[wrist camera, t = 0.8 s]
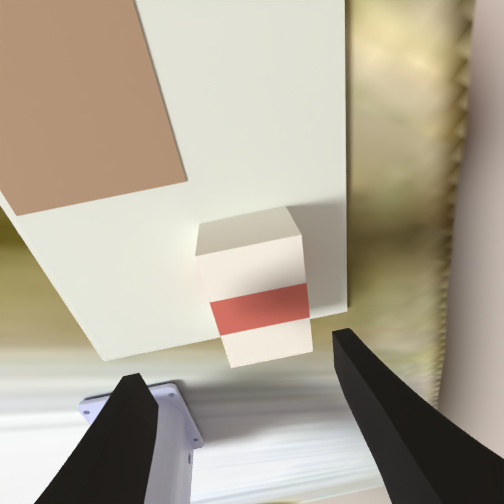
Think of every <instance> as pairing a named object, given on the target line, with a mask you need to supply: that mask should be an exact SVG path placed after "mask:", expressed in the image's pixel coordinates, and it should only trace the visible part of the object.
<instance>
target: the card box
mask: <svg viewBox="0 0 504 504" xmlns="http://www.w3.org/2000/svg"><path fill="white" fill-rule="evenodd" d="M195 258H196V261H197V265H198V268H199V271H200V274H201V277H202V280H203V283H204V286H205V289H206V292H207V295H208V298H209V303H210V306H211V309H212V312H213V315H214V318H215V321H216V325H217V328H218V331H219V334H220V336H221V338H222V342H223V345H224V348H225V351H226V354H227V357H228V360H229V363H230V366H231V368H234V367H239V366H244V365H249V364H254V363H259V362H264V361H269V360H274V359H278V358H283V357H288V356H293V355H298V354H303V353H308V352H313V347H312V337H311V327H310V312H309V302H308V291H307V283H306V276H305V265H304V255H303V245H302V235H301V233H300V231H299V229H298V228H297V226H296V224H295V222H294V220H293V219H292V217H291V215H290V213H289V211H288V210H287V208H286V206H285V207H280V208H275V209H270V210H265V211H260V212H255V213H250V214H245V215H241V216H236V217H231V218H226V219H221V220H216V221H211V222H206V223H201V224H199V229H198V236H197V244H196V252H195Z"/></svg>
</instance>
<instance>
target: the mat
mask: <svg viewBox="0 0 504 504" xmlns="http://www.w3.org/2000/svg"><path fill="white" fill-rule="evenodd" d="M0 205H1V207H2V208H3V210H4V211H5V213H6V214H7V216H8V217H9V219H10V221H11V222H12V224H13V225H14V227H15V228H16V230H17V231H18V233H19V234H20V236H21V237H22V239H23V240H24V242H25V243H26V245H27V246H28V248H29V249H30V251H31V252H32V254H33V255H34V257H35V258H36V260H37V261H38V263H39V264H40V266H41V268H42V269H43V271H44V272H45V274H46V275H47V277H48V278H49V280H50V281H51V283H52V284H53V286H54V287H55V289H56V290H57V292H58V293H59V295H60V296H61V298H62V299H63V301H64V302H65V304H66V305H67V307H68V308H69V310H70V311H71V313H72V315H73V316H74V318H75V319H76V321H77V322H78V324H79V325H80V327H81V328H82V330H83V331H84V333H85V334H86V336H87V337H88V339H89V340H90V342H91V343H92V345H93V346H94V348H95V349H96V351H97V352H98V354H99V355H100V357H101V358H102V360H103V361H107V360H112V359H116V358H121V357H126V356H131V355H136V354H141V353H146V352H151V351H156V350H161V349H165V348H170V347H175V346H180V345H185V344H190V343H195V342H200V341H205V340H210V339H214V338H219V337H221V336H220V334H219V331H218V328H217V325H216V321H215V318H214V315H213V312H212V309H211V306H210V303H209V298H208V295H207V292H206V289H205V286H204V283H203V280H202V277H201V274H200V271H199V268H198V265H197V261H196V258H195V252H196V244H197V236H198V229H199V224H201V223H206V222H211V221H216V220H221V219H226V218H231V217H236V216H241V215H245V214H250V213H255V212H260V211H265V210H270V209H275V208H280V207H285V206H286V208H287V210H288V211H289V213H290V215H291V217H292V219H293V220H294V222H295V224H296V226H297V228H298V229H299V231H300V233H301V235H302V245H303V255H304V265H305V276H306V283H307V291H308V302H309V312H310V319H313V318H317V317H322V316H327V315H332V314H337V313H342V312H347V235H346V111H345V0H0Z"/></svg>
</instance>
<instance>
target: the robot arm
mask: <svg viewBox="0 0 504 504" xmlns="http://www.w3.org/2000/svg"><path fill="white" fill-rule="evenodd" d="M332 336H333V352H334V367H335V371H336V373H337V376H338V379H339V382H340V385H341V388H342V390H343V393H344V396H345V398H346V400H347V402H348V405H349V407H350V409H351V411H352V413H353V415H354V417H355V419H356V422H357V424H358V426H359V428H360V430H361V432H362V434H363V436H364V439H365V441H366V443H367V445H368V447H369V449H370V451H371V453H372V456H373V458H374V460H375V462H376V464H377V467H378V469H379V471H380V474H381V476H382V478H383V481H384V484H385V486H386V489H387V492H388V494H389V497H390V499H391V502H392V504H504V459H503V458H502V457H500V456H499V455H497V454H496V453H494V452H493V451H491V450H490V449H488V448H487V447H485V446H484V445H482V444H481V443H480V442H478V441H477V440H475V439H474V438H473V437H471V436H470V435H469V434H467V433H466V432H464V431H463V430H462V429H460V428H459V427H458V426H456V425H455V424H454V423H452V422H451V421H450V420H448V419H447V418H446V417H445V416H443V415H442V414H441V413H439V412H438V411H437V410H436V409H435V408H433V407H432V406H431V405H430V404H428V403H427V402H426V401H425V400H424V399H422V398H421V397H420V396H419V395H418V394H417V393H415V392H414V391H413V390H412V389H411V388H410V387H409V386H407V385H406V384H405V383H404V382H403V381H402V380H401V379H400V378H399V377H398V376H396V375H395V374H394V373H393V372H392V371H391V370H390V369H389V368H388V367H387V366H386V365H385V364H384V363H383V362H382V361H381V360H380V359H379V358H378V357H377V356H376V355H375V354H374V353H373V352H372V351H371V350H370V349H369V348H368V347H367V346H366V345H365V344H364V343H363V342H362V341H361V340H360V339H359V338H358V336H357V335H356V334H355V333H354V332H353V331H352V330H351V329H349V328H346V329H342V330H337V331H332ZM77 409H78V411H79V412H80V413H81V414H82V415H83V417H84V418H85V419H86V420H87V421H88V423H89V424H90V425H91V426H90V427H89V429H88V430H87V432H86V433H85V435H84V436H83V438H82V439H81V441H80V442H79V444H78V445H77V447H76V448H75V449H74V451H73V452H72V454H71V455H70V456H69V458H68V459H67V461H66V462H65V463H64V465H63V466H62V467H61V469H60V470H59V472H58V473H57V474H56V476H55V477H54V478H53V480H52V481H51V482H50V484H49V485H48V486H47V488H46V489H45V490H44V492H43V493H42V494H41V495H40V497H39V498H38V499H37V501H36V502H35V503H34V504H190V495H191V480H192V465H193V449H197V448H201V447H203V445H204V440H203V438H202V436H201V434H200V432H199V430H198V428H197V426H196V424H195V422H194V420H193V418H192V416H191V414H190V412H189V410H188V408H187V406H186V404H185V402H184V400H183V398H182V396H181V394H180V392H179V390H178V388H177V386H176V385H175V384H172V383H169V384H164V385H159V386H154V387H149V388H148V387H147V385H146V383H145V382H144V380H143V378H142V377H141V375H140V373H137V374H132V375H127V376H123V377H122V379H121V380H120V382H119V383H118V385H117V386H116V388H115V389H114V391H113V392H112V394H111V395H110V396H105V397H100V398H95V399H90V400H85V401H82V402H80V403H79V404H78V407H77Z"/></svg>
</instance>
